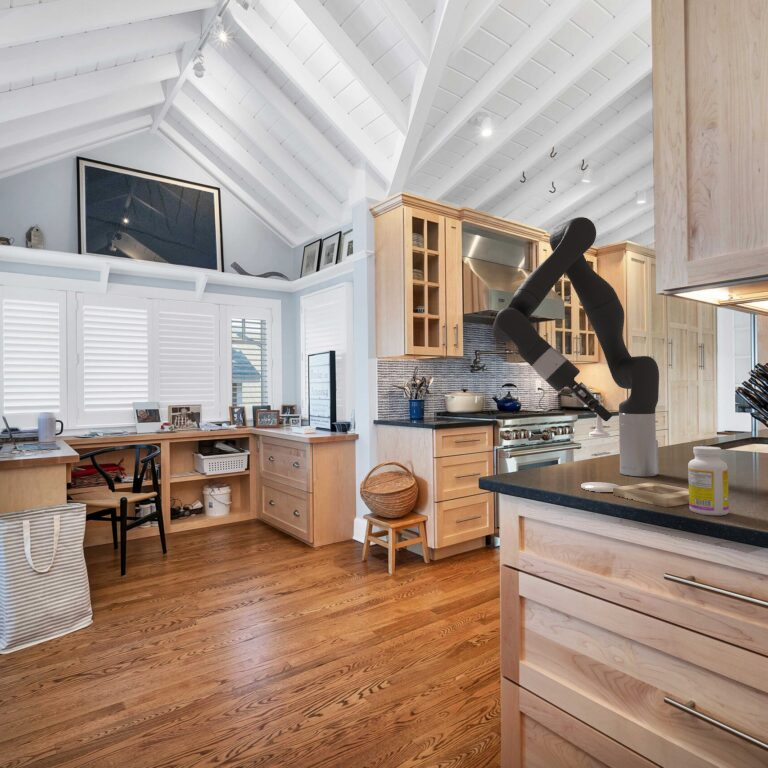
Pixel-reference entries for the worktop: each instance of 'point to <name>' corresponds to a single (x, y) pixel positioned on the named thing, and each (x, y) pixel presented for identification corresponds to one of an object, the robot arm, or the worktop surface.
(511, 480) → the worktop surface
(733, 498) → the worktop surface
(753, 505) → the worktop surface
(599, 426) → the chess piece
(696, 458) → the supplement bottle
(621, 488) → the pocket block
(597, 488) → the coaster
